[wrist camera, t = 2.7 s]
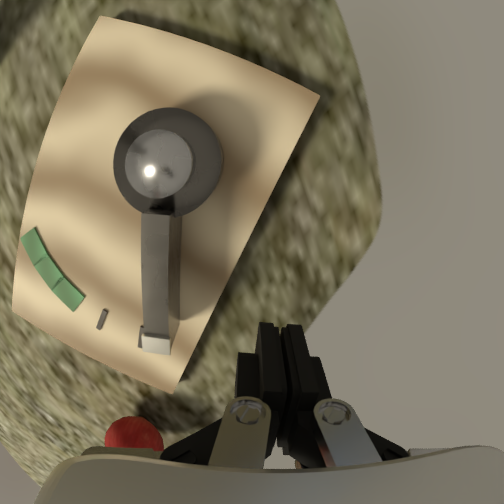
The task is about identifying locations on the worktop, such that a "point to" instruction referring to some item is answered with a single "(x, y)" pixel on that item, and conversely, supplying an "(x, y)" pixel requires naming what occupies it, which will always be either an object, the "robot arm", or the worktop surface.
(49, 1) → the worktop surface
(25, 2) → the worktop surface
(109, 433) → the onion
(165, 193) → the dial
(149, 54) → the tuner board
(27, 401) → the worktop surface
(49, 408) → the worktop surface
